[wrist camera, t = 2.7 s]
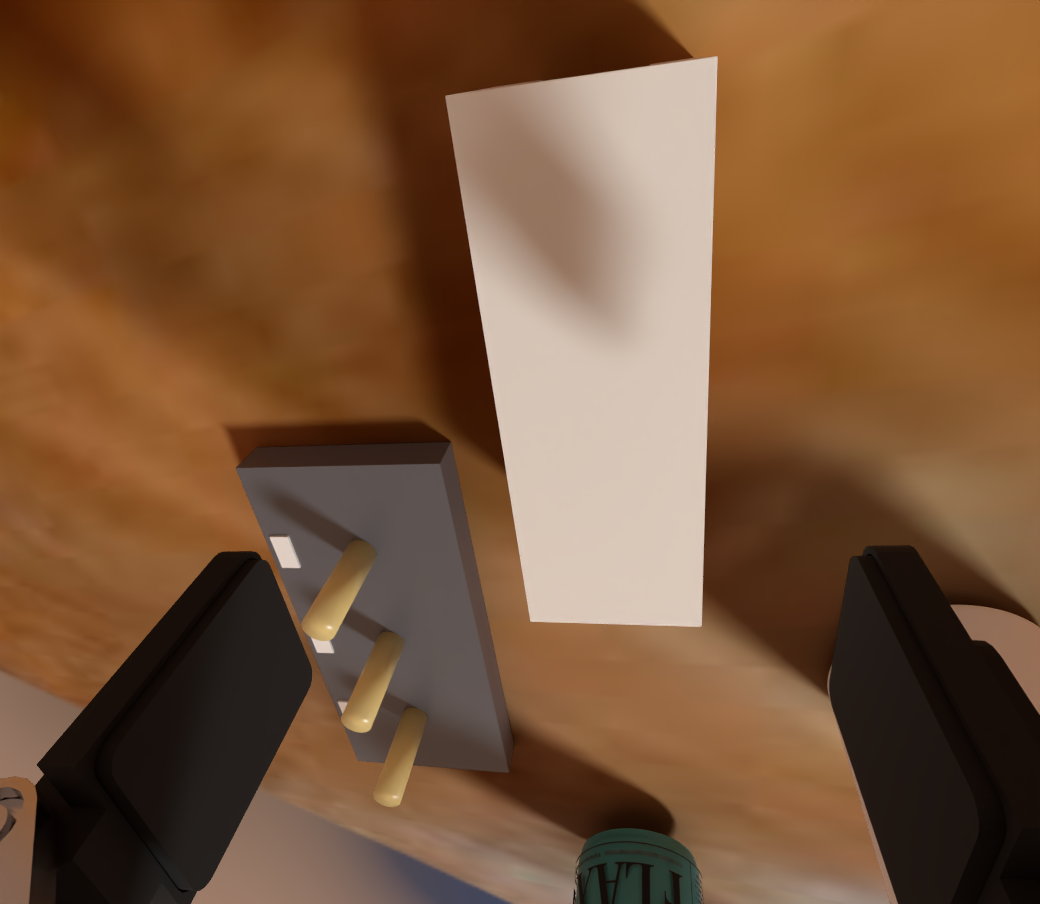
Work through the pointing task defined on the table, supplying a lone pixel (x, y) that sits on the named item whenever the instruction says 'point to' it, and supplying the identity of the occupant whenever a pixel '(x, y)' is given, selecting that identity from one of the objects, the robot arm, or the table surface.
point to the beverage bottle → (636, 870)
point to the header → (387, 600)
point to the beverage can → (1022, 646)
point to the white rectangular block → (598, 328)
